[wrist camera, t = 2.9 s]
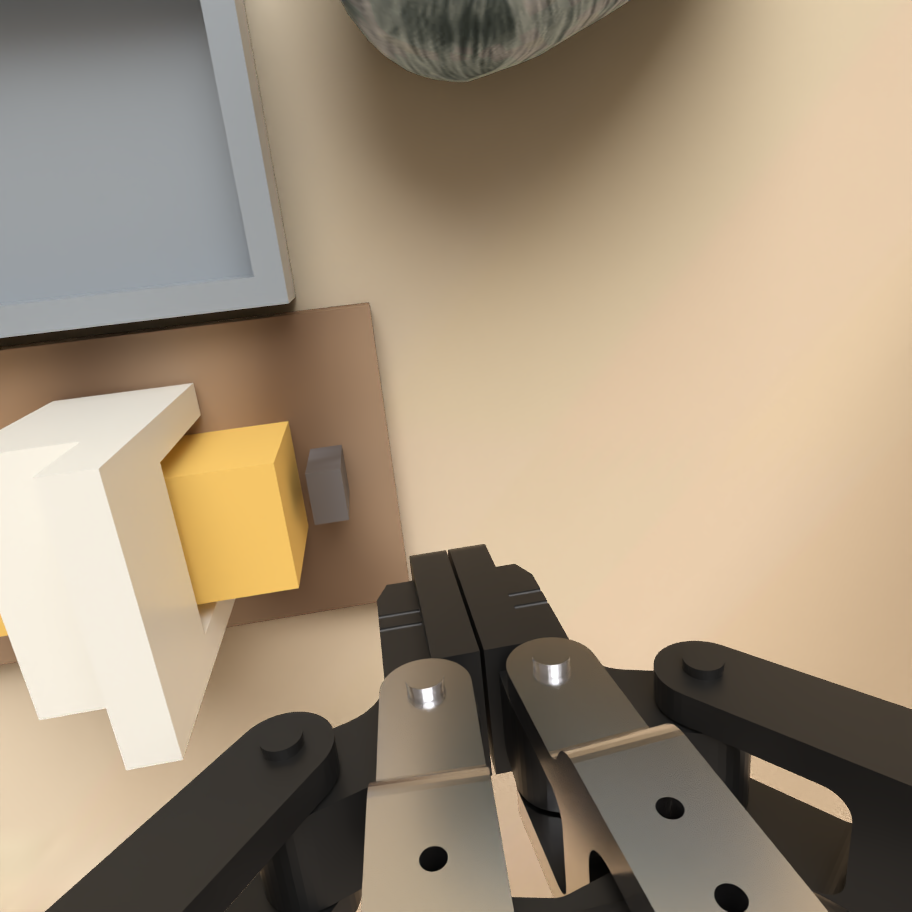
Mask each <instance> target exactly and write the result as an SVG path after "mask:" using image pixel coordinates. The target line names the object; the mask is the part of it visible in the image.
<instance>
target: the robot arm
mask: <svg viewBox="0 0 912 912" xmlns="http://www.w3.org/2000/svg"><path fill="white" fill-rule="evenodd" d="M410 566H411V574H412V581H408V582H402V583H396V584H389V585H386V587H385V588H384V590H383V591H382V593H381V595H380V596H379V598H378V600H377V606H378V616H379V627H380V637H381V647H382V658H383V668H384V681H383V682H382V685H381V687H380V692H379V699H378V701H377V702H376V703H375V704H374V705H373V706H372V707H371V708H370V709H369V710H368V711H367V712H365V713H364V714H362V715H361V716H359V717H358V718H356V719H354V720H352V721H350V722H347V723H345V724H343V725H340V726H338V727H336V728H332V726H331V724H330V723H329V722H328V721H327V720H326V719H325V718H323V717H321V716H319V715H317V714H313V713H309V712H291V713H285V714H281V715H277V716H274V717H272V718H269V719H267V720H265V721H263V722H261V723H259V724H257V725H256V726H254V727H253V728H251V729H250V730H249V731H248V732H246V733H245V734H244V735H243V736H242V737H241V738H240V739H238V740H237V741H236V742H235V743H234V744H233V745H232V746H231V747H229V748H228V749H227V750H226V751H225V752H224V753H223V754H222V755H220V756H219V757H218V758H217V759H216V760H215V761H214V762H213V763H212V764H210V765H209V766H208V767H207V768H206V769H205V770H204V771H203V772H201V773H200V774H199V775H198V776H197V777H196V778H195V779H194V780H192V781H191V782H190V783H189V784H188V785H187V786H186V787H185V788H183V789H182V790H181V791H180V792H179V793H178V794H177V795H176V796H174V797H173V798H172V799H171V800H170V801H169V802H168V803H167V804H165V805H164V806H163V807H162V808H161V809H160V810H159V811H158V812H156V813H155V814H154V815H153V816H152V817H151V818H150V819H149V820H147V821H146V822H145V823H144V824H143V825H142V826H141V827H140V828H138V829H137V830H136V831H135V832H134V833H133V834H132V835H131V836H129V837H128V838H127V839H126V840H125V841H124V842H123V843H122V844H120V845H119V846H118V847H117V848H116V849H115V850H114V851H113V852H112V853H110V854H109V855H108V856H107V857H106V858H105V859H104V860H103V861H101V862H100V863H99V864H98V865H97V866H96V867H95V868H94V869H92V870H91V871H90V872H89V873H88V874H87V875H86V876H85V877H83V878H82V879H81V880H80V881H79V882H78V883H77V884H76V885H74V886H73V887H72V888H71V889H70V890H69V891H68V892H67V893H65V894H64V895H63V896H62V897H61V898H60V899H59V900H58V901H56V902H55V903H54V904H53V905H52V906H51V907H50V908H49V909H47V910H46V911H45V912H356V910H357V909H358V906H359V904H360V901H361V897H362V901H361V912H912V709H909V708H906V707H903V706H900V705H897V704H894V703H891V702H888V701H885V700H882V699H879V698H876V697H873V696H870V695H867V694H864V693H862V692H859V691H856V690H853V689H850V688H847V687H844V686H841V685H838V684H835V683H832V682H829V681H826V680H823V679H820V678H817V677H814V676H811V675H808V674H805V673H802V672H799V671H796V670H793V669H790V668H787V667H784V666H782V665H779V664H776V663H773V662H770V661H767V660H764V659H761V658H758V657H755V656H752V655H749V654H746V653H743V652H740V651H737V650H734V649H731V648H728V647H725V646H722V645H719V644H715V643H710V642H703V641H686V642H680V643H675V644H672V645H670V646H667V647H666V648H664V649H662V650H661V651H660V652H659V653H658V654H657V656H656V657H655V660H654V671H643V670H621V669H613V668H608V667H604V666H603V665H602V664H601V663H600V661H599V660H598V659H597V657H596V656H595V655H594V653H593V652H592V651H591V650H590V649H589V648H587V647H586V646H584V645H582V644H581V643H579V642H576V641H573V640H569V638H568V637H567V635H566V633H565V631H564V630H563V628H562V626H561V624H560V623H559V621H558V619H557V617H556V615H555V614H554V612H553V610H552V608H551V607H550V605H549V603H547V600H546V598H545V596H544V594H543V593H542V591H540V587H539V586H538V584H537V582H536V580H535V579H534V577H533V575H532V574H531V573H529V572H527V571H526V570H524V569H522V568H521V567H519V566H518V565H516V564H511V565H505V566H499V567H495V565H494V562H493V560H492V558H491V556H490V554H489V552H488V550H487V548H486V546H485V544H481V545H475V546H469V547H463V548H456V549H450V550H448V555H447V552H446V550H445V551H438V552H432V553H426V554H419V555H413V556H410ZM490 755H491V758H492V762H493V765H494V769H495V772H496V774H500V773H505V772H510V771H512V772H513V775H514V778H515V781H516V786H517V797H518V809H519V813H520V817H521V819H522V822H523V824H524V826H525V829H526V831H527V834H528V836H529V839H530V841H531V844H532V846H533V848H534V851H535V853H536V856H537V858H538V861H539V863H540V866H541V868H542V871H543V873H544V875H545V878H546V880H547V883H548V885H549V888H550V890H551V893H552V895H553V897H554V898H522V897H511V891H510V885H509V880H508V874H507V868H506V862H505V857H504V851H503V845H502V839H501V834H500V828H499V822H498V816H497V811H496V805H495V799H494V793H493V788H492V782H491V776H492V770H491V760H490ZM751 755H753V756H756V757H758V758H760V759H763V760H765V761H767V762H769V763H772V764H774V765H776V766H779V767H781V768H783V769H786V770H788V771H790V772H793V773H795V774H797V775H799V776H802V777H804V778H806V779H809V780H811V781H813V782H816V783H818V784H820V785H822V786H824V787H826V788H828V789H830V790H831V791H833V792H834V793H835V794H837V795H838V796H839V797H840V798H841V799H842V800H843V801H844V803H845V804H846V805H847V807H848V808H849V810H850V813H851V816H852V823H849V822H846V821H843V820H841V819H839V818H837V817H835V816H832V815H830V814H828V813H826V812H824V811H821V810H819V809H817V808H815V807H813V806H811V805H808V804H806V803H804V802H802V801H800V800H797V799H795V798H793V797H791V796H789V795H786V794H784V793H782V792H780V791H778V790H775V789H773V788H771V787H769V786H767V785H764V784H762V783H760V782H758V781H756V780H754V779H751V778H750V762H751ZM255 876H256V877H255ZM254 877H255V878H254ZM248 884H249V885H248ZM247 885H248V886H247ZM241 892H242V893H241ZM240 893H241V894H240ZM233 901H234V902H233ZM226 909H227V910H226Z"/></svg>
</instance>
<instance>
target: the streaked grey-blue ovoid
mask: <svg viewBox="0 0 912 912" xmlns="http://www.w3.org/2000/svg"><path fill="white" fill-rule="evenodd" d="M628 1H630V0H341V2H342V4H343V6H344V8H345V10H346V11H347V13H348V15H349V16H350V17H351V19H352V20H353V21H354V22H355V24H356V25H357V26H358V28H359V29H360V30H361V31H362V33H363V34H364V35H365V37H366V38H367V39H368V40H369V41H370V42H371V43H372V44H373V45H374V46H375V47H376V48H377V49H378V50H379V51H380V52H381V53H382V54H383V55H384V56H386V57H387V58H389V59H390V60H392V61H393V62H395V63H396V64H398V65H399V66H401V67H402V68H404V69H405V70H407V71H410V72H412V73H415V74H417V75H420V76H423V77H427V78H431V79H434V80H444V81H450V82H469V81H472V80H475V79H478V78H481V77H484V76H487V75H490V74H492V73H495V72H498V71H500V70H503V69H506V68H509V67H512V66H514V65H517V64H520V63H522V62H525V61H527V60H530V59H532V58H535V57H537V56H540V55H541V54H543V53H544V52H546V51H548V50H549V49H551V48H553V47H554V46H556V45H558V44H559V43H561V42H563V41H564V40H566V39H568V38H569V37H571V36H573V35H574V34H576V33H578V32H579V31H581V30H583V29H585V28H586V27H588V26H590V25H591V24H593V23H595V22H596V21H598V20H600V19H601V18H603V17H605V16H607V15H608V14H610V13H611V12H613V11H614V10H616V9H617V8H619V7H621V6H622V5H624V4H625V3H627V2H628Z"/></svg>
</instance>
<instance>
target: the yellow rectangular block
mask: <svg viewBox="0 0 912 912" xmlns="http://www.w3.org/2000/svg"><path fill="white" fill-rule="evenodd" d="M160 464H161V468H162V472H163V476H164V479H165V483H166V487H167V491H168V495H169V499H170V503H171V507H172V510H173V514H174V518H175V522H176V526H177V530H178V534H179V538H180V541H181V545H182V549H183V553H184V557H185V561H186V565H187V568H188V572H189V576H190V580H191V584H192V588H193V592H194V596H195V599H196V603H197V605H198V604H204V603H210V602H216V601H223V600H229V599H235V598H241V597H247V596H253V595H259V594H266V593H272V592H278V591H284V590H290V589H296V588H299V584H300V578H301V571H302V565H303V558H304V552H305V545H306V539H307V533H308V521H307V516H306V510H305V505H304V500H303V495H302V489H301V484H300V479H299V474H298V468H297V463H296V458H295V453H294V447H293V442H292V437H291V432H290V426H289V421H286V422H278V423H271V424H264V425H256V426H249V427H242V428H235V429H227V430H220V431H213V432H205V433H198V434H191V435H184V436H182V438H181V439H180V440H179V441H178V442H177V443H176V445H175V446H174V447H173V448H172V449H171V450H170V452H169V453H168V454H167V455H166V456H165V457H164V459H163V460H162V461H161V462H160ZM7 635H8V633H7V631H6V628H5V625H4V623H3V620H2V617H1V614H0V637H1V636H7Z"/></svg>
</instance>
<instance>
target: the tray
mask: <svg viewBox="0 0 912 912" xmlns="http://www.w3.org/2000/svg"><path fill="white" fill-rule="evenodd" d="M295 297H296V294H295V289H294V283H293V277H292V272H291V266H290V260H289V255H288V249H287V243H286V238H285V232H284V226H283V221H282V215H281V209H280V204H279V198H278V192H277V187H276V181H275V175H274V170H273V164H272V158H271V153H270V147H269V141H268V136H267V130H266V124H265V119H264V113H263V107H262V102H261V96H260V90H259V85H258V79H257V73H256V68H255V62H254V56H253V51H252V45H251V39H250V34H249V28H248V22H247V17H246V11H245V5H244V0H0V338H5V337H13V336H21V335H30V334H38V333H46V332H55V331H63V330H71V329H80V328H88V327H96V326H105V325H113V324H121V323H130V322H138V321H146V320H155V319H163V318H171V317H180V316H188V315H196V314H205V313H213V312H221V311H230V310H238V309H246V308H255V307H263V306H272V305H280V304H288V303H290V302H291V301H292V300H293V299H294V298H295Z"/></svg>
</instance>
